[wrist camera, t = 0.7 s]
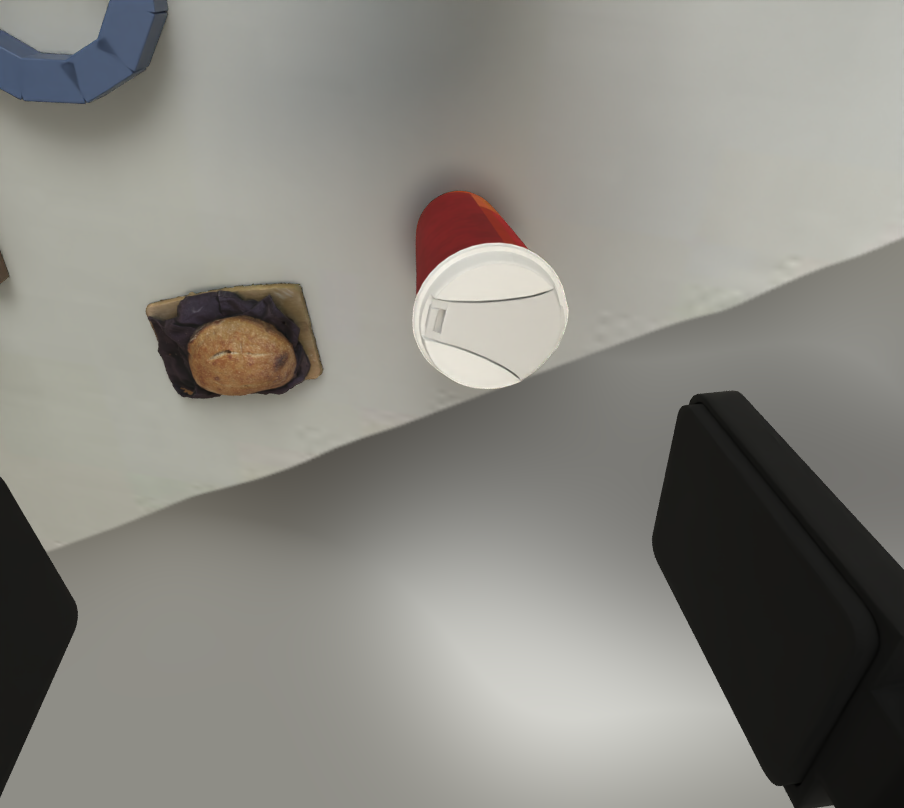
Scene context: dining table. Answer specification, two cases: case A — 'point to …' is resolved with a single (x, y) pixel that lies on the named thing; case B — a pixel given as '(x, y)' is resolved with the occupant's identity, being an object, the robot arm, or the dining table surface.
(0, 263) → the stand
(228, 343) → the bun on tray
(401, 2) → the dining table surface
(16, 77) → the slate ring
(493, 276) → the paper cup
